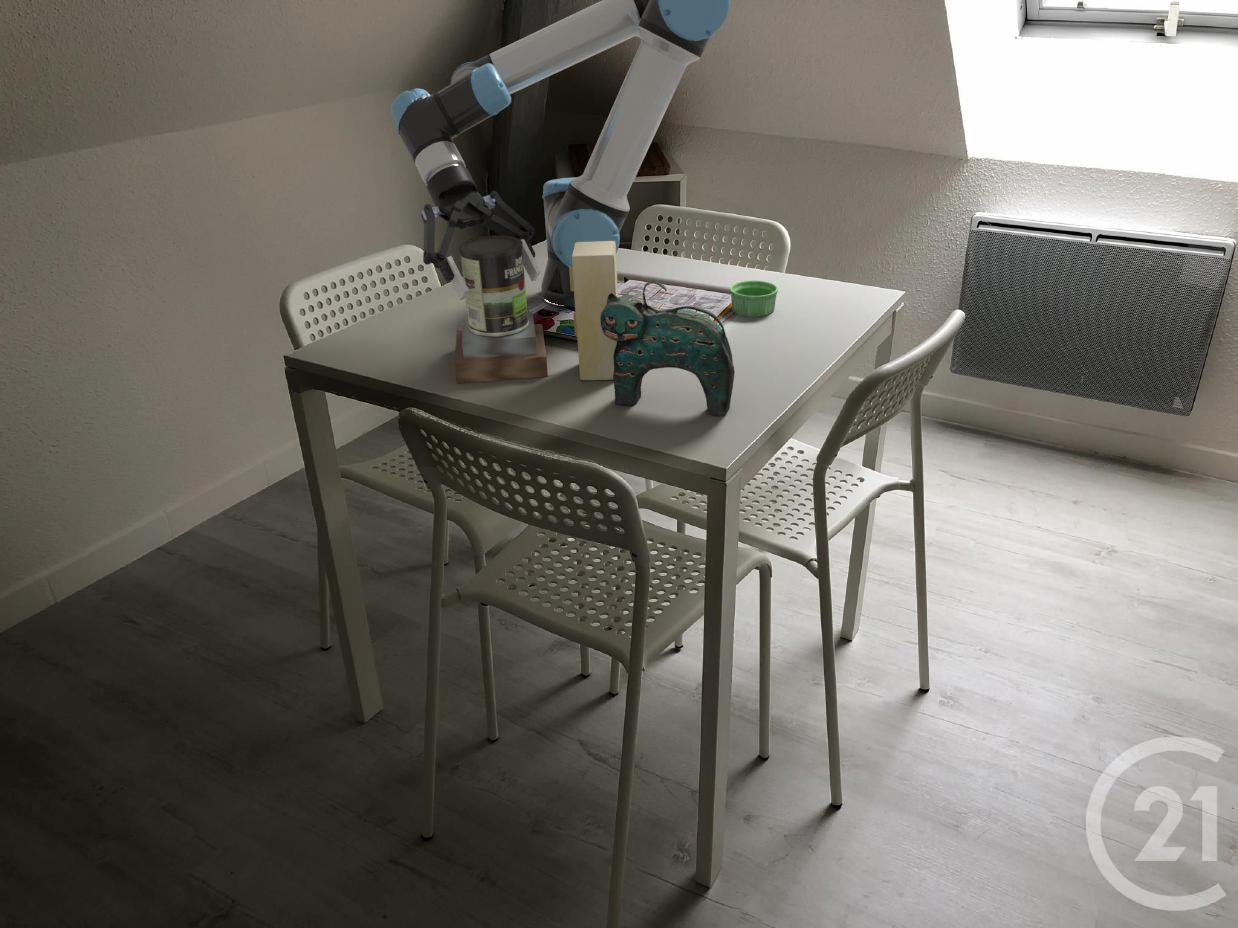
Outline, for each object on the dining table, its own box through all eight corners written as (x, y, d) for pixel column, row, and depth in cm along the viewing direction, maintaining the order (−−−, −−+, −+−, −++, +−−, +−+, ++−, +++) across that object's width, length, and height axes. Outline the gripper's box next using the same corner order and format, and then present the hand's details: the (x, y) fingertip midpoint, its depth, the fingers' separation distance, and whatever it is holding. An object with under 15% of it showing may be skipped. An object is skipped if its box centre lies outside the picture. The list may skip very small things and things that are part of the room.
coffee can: (539, 317, 167) (532, 237, 160) (513, 340, 158) (504, 256, 151) (485, 312, 170) (477, 232, 163) (457, 333, 162) (446, 251, 155)
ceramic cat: (602, 406, 151) (596, 282, 141) (615, 389, 156) (611, 268, 146) (727, 421, 145) (730, 293, 135) (737, 403, 150) (740, 278, 140)
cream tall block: (578, 362, 166) (571, 241, 156) (621, 361, 166) (616, 240, 155) (574, 381, 159) (567, 256, 149) (619, 380, 159) (615, 255, 148)
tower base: (543, 342, 174) (540, 307, 171) (547, 376, 161) (545, 339, 158) (459, 348, 173) (454, 314, 170) (456, 383, 160) (452, 346, 157)
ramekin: (719, 310, 186) (720, 288, 184) (752, 298, 191) (753, 277, 189) (753, 322, 180) (754, 299, 178) (786, 310, 184) (788, 288, 182)
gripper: (504, 178, 171) (556, 280, 168) (372, 204, 159) (426, 315, 155) (517, 151, 165) (572, 257, 162) (381, 176, 152) (438, 291, 149)
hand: (501, 286), depth 158 cm, fingers open, 13 cm apart
